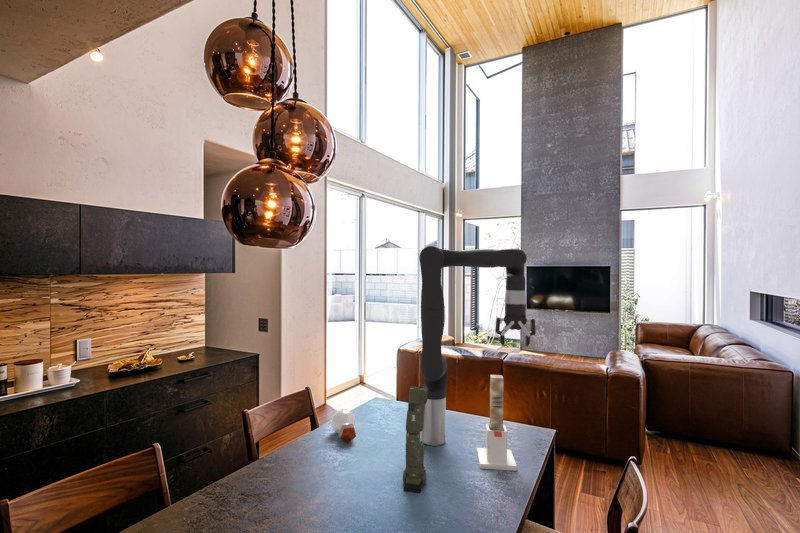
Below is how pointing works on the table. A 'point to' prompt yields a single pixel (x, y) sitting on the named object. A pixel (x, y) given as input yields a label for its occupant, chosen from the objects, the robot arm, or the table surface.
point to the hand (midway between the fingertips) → (514, 345)
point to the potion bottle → (344, 425)
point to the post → (496, 402)
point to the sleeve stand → (496, 451)
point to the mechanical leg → (415, 441)
